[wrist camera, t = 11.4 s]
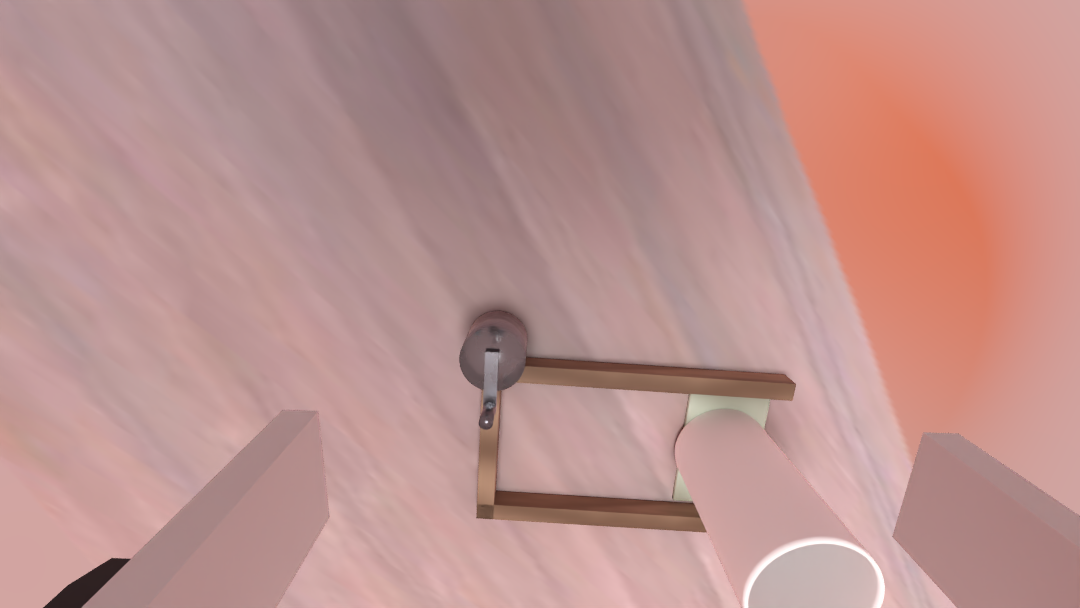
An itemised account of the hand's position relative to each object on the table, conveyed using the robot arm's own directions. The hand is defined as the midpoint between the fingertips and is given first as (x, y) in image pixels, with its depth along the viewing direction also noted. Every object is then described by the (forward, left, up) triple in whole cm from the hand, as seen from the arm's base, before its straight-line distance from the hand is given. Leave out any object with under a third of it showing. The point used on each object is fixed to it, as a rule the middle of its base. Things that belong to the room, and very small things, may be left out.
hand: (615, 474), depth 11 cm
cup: (+17, +16, -30) cm, 38 cm away
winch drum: (+8, -5, -30) cm, 32 cm away
